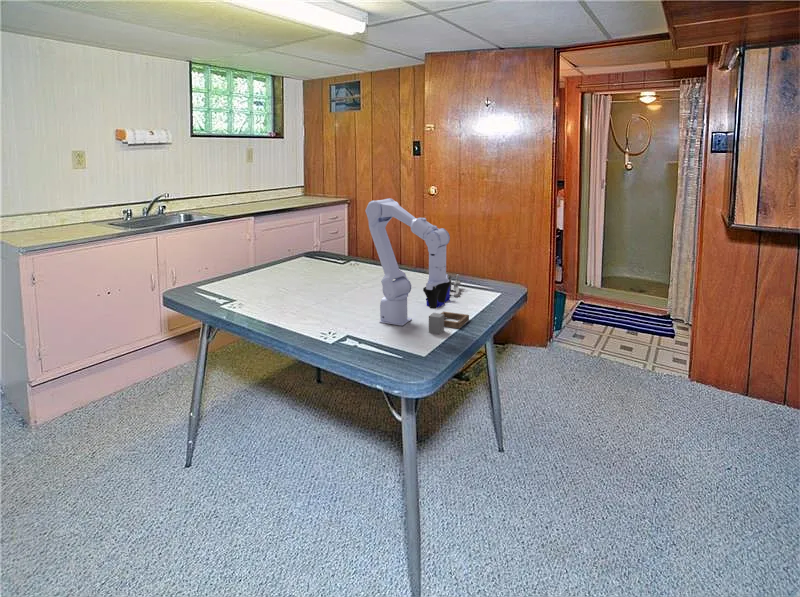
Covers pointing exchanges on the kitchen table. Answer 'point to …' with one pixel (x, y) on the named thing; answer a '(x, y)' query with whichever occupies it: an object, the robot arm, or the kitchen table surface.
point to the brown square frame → (461, 317)
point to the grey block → (436, 323)
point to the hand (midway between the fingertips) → (437, 305)
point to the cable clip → (445, 299)
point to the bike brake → (454, 285)
